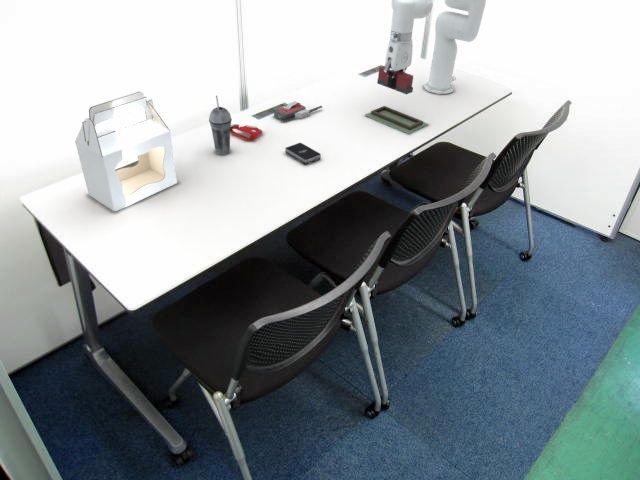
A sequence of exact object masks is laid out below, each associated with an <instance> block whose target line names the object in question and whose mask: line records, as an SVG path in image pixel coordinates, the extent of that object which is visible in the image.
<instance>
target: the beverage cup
mask: <svg viewBox="0 0 640 480" xmlns="http://www.w3.org/2000/svg"><path fill="white" fill-rule="evenodd" d="M215 100H216V106H215V108H213V109H212V110H211V111H210V113H209V117H208V122H209V125H210V126H209V127H210V129H211V134H212V139H213V144H214V150H215V153H216V155H219V156H225V155H228V154H229V153H230V150H231V133H230V126H231V125H232V121H233V120H232V117H231V113H230V112H229V110H228V109H227V108H225V107H223V106H220V104H219V97H218V95H215Z"/></svg>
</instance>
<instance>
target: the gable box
mask: <svg viewBox="0 0 640 480" xmlns="http://www.w3.org/2000/svg"><path fill="white" fill-rule="evenodd" d="M147 98H148V97H147V96H145V93H143V92H142V91H136V92H134V93H130V94H127V95H124V96H121V97H117V98H115V99H111V100H108V101H105V102H102V103H98V104H95V105H93V106H92V105H91V106H90V107H89V109H88V117H89V118H85V119H84V120H83V121H82V122H81V123H82V125H81V127H80V129H79V131H78V133H77V136H76V138H75V141H74V142H75V146H76V151H77V155H78V158H79V162H80V166H81V167H80V168H81V170H82V174H83V179H84V182H85V185H86V190H87V194H88V196H89V197H91V198H92V199H94V200H96V201H97V202H99V203H100V204H102V205H104V207H106V208H108V209H109V210H111V211H112V212H114V213H115V212H116V213H117V212H118V211H120V210H123V209H125V208H127V207H129V206H131V205H133V204H135V203H138V202H140V201H142V200H144V199H147V198H148V197H151V196H153V195H155V194H157V193H159V192H162V191H164V190H166V189H168V188H170V187H172V186H174V185H177V184H178V180H177V179H178V178H177V172H176V164H175V157H174V150H173V144H172V143H173V141H172V136H171V130H170V129H169V127H168V126H167V124H166V123H165V121H164V120H163V119H162V117H161V116H160V114H159V113H158V111H157V110H156V109H155V106H154V101H153V99H151V98H150V99H148V100H147ZM138 110H141V117H137V118H135V119H133V120H129V121H126V122H124V123H120V124H118V125H115V126H113V127H110V128H107V129H103V130H101V131H98V132H97V131H96V125H97V124H100V123H102V122H106V121H109V120H111V119H114V118H117V117H121V116H123V115H125V114H130V113H133V112H135V111H138ZM132 157H133V158H134V157H137V159H138V162H137V163H136V164H135V165H133V166H126V167H125V166H124V167H121V168H118V169H116V168H117V166H118V165H119V163H121V162H123V161H124V160H127V159H129V158H132Z"/></svg>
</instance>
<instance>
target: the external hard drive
mask: <svg viewBox="0 0 640 480" xmlns="http://www.w3.org/2000/svg"><path fill="white" fill-rule="evenodd" d="M284 149H285V151H284V152H285V154H287V155H289V156H290V157H292V158H294V159H295V160H297V161H299V162H300V163H302V164H304V165H308V164H311V163H314V162H317V161H319V160H321V159H322V154H321V153H320V152H319V151H317V150H315V149H313V148H311V147H309V146H308V145H307V144H304V143H303V142H298V143H294V144H292V145H289V146H286V147H285V148H284Z"/></svg>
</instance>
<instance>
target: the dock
mask: <svg viewBox="0 0 640 480" xmlns="http://www.w3.org/2000/svg"><path fill="white" fill-rule="evenodd" d="M365 117H367V118H369V119H371V120H373V121H375V122H378V123H381V124H383V125H385V126H388V127H390V128H393V129H395V130H397V131H399V132H402V133H405V134H407V135H410V134H412V133H414V132H416V131H418V130H421V129H423V128H425V127H428V126H429V123H427V122H425V121H423V120H422V119H421V120H420V119H418V118H417V117H413V116H411V115H409V114H406V113H403V112H401V111H399V110H396V109H393V108H391V107H388V106H387V105H383V106H381V107H377V108H375V109H373V110H371V111H370V112H369V113H366V114H365Z"/></svg>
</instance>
